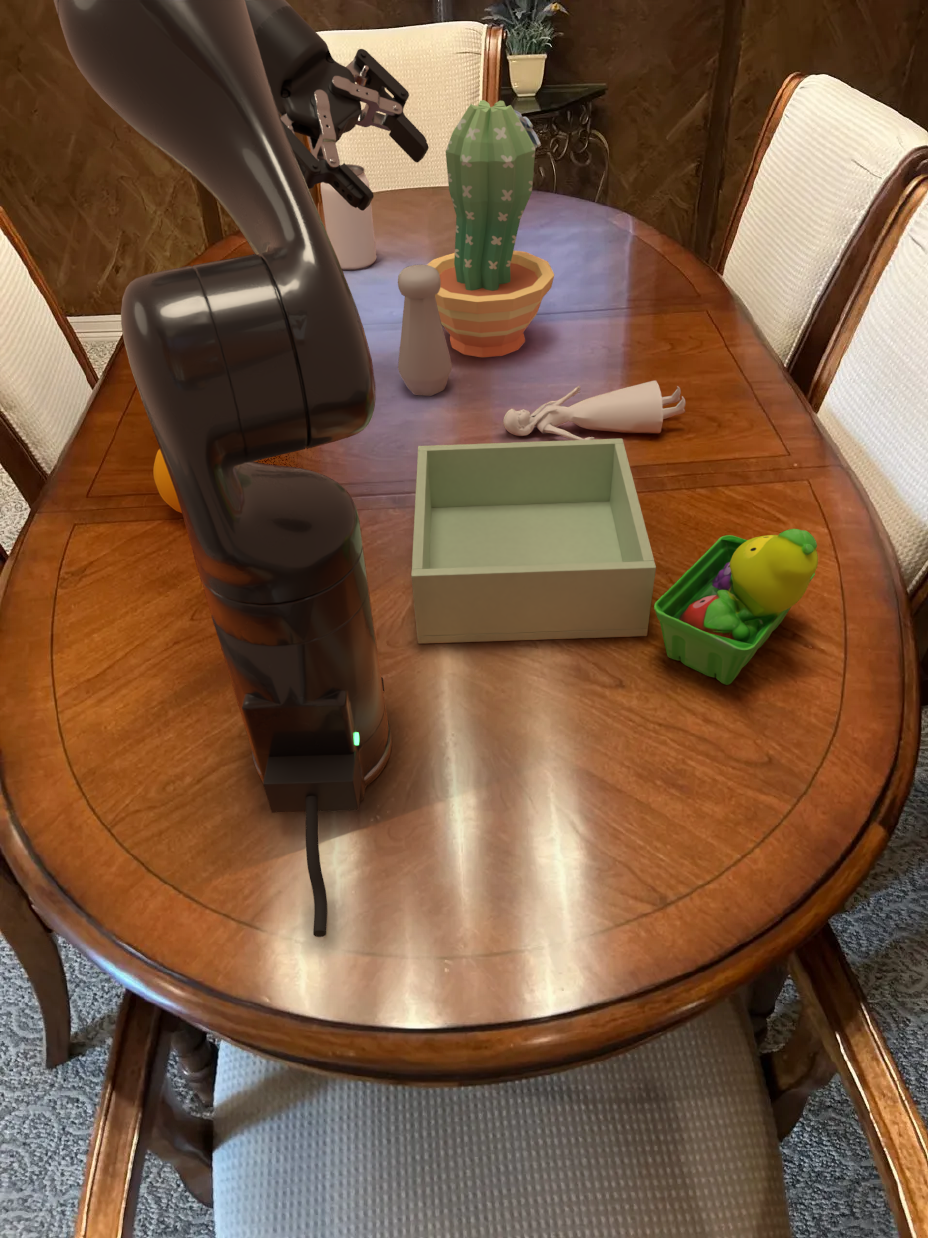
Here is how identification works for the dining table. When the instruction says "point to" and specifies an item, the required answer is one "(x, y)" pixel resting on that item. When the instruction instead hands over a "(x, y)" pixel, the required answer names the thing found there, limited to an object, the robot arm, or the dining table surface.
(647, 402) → the woman figurine
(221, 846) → the dining table surface
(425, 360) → the salt shaker
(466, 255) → the potted cactus
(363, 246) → the can
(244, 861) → the dining table surface
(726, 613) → the fruit basket
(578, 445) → the bin
